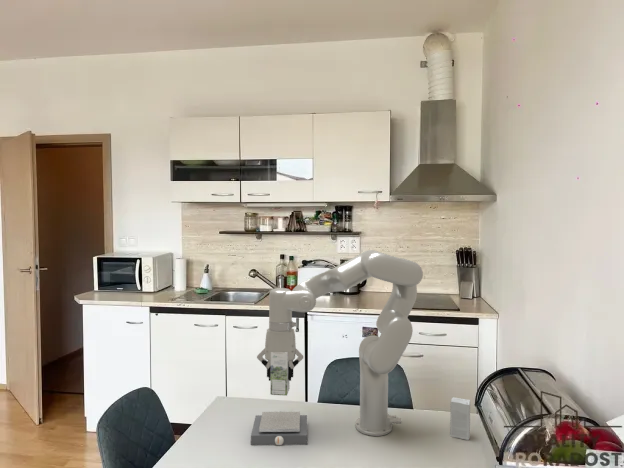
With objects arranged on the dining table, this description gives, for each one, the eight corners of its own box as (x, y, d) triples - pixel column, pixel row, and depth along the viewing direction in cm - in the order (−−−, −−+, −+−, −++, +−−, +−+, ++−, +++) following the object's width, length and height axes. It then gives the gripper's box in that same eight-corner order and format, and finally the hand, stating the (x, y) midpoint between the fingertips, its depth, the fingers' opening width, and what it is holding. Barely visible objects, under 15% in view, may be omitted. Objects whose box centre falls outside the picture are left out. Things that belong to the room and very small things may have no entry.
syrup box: (289, 389, 148) (290, 347, 147) (287, 396, 142) (287, 352, 141) (273, 388, 148) (273, 346, 148) (269, 395, 143) (270, 351, 142)
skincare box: (470, 434, 146) (471, 399, 145) (469, 440, 142) (469, 404, 141) (451, 430, 148) (452, 396, 148) (449, 436, 144) (450, 401, 144)
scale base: (307, 423, 153) (307, 415, 153) (307, 445, 138) (307, 436, 138) (255, 423, 153) (255, 415, 153) (250, 446, 138) (250, 436, 138)
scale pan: (299, 414, 152) (299, 411, 152) (299, 431, 140) (299, 428, 140) (262, 414, 152) (262, 411, 151) (259, 431, 140) (259, 428, 140)
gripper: (306, 323, 148) (305, 375, 149) (255, 322, 148) (255, 375, 149) (306, 329, 141) (306, 383, 141) (253, 328, 140) (252, 383, 141)
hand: (280, 378), depth 145 cm, fingers closed on syrup box, 6 cm apart
